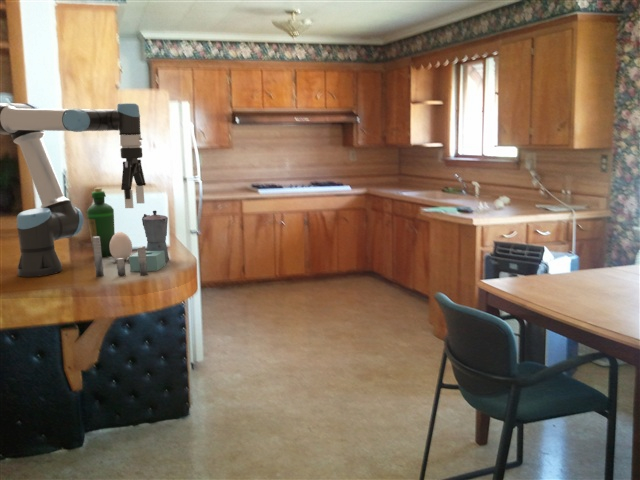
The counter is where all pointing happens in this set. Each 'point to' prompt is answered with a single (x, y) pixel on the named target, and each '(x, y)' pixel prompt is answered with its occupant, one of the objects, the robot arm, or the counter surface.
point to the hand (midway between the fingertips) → (135, 205)
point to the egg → (120, 246)
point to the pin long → (97, 256)
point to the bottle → (101, 221)
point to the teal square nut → (148, 261)
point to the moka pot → (156, 232)
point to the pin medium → (142, 260)
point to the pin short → (121, 267)
